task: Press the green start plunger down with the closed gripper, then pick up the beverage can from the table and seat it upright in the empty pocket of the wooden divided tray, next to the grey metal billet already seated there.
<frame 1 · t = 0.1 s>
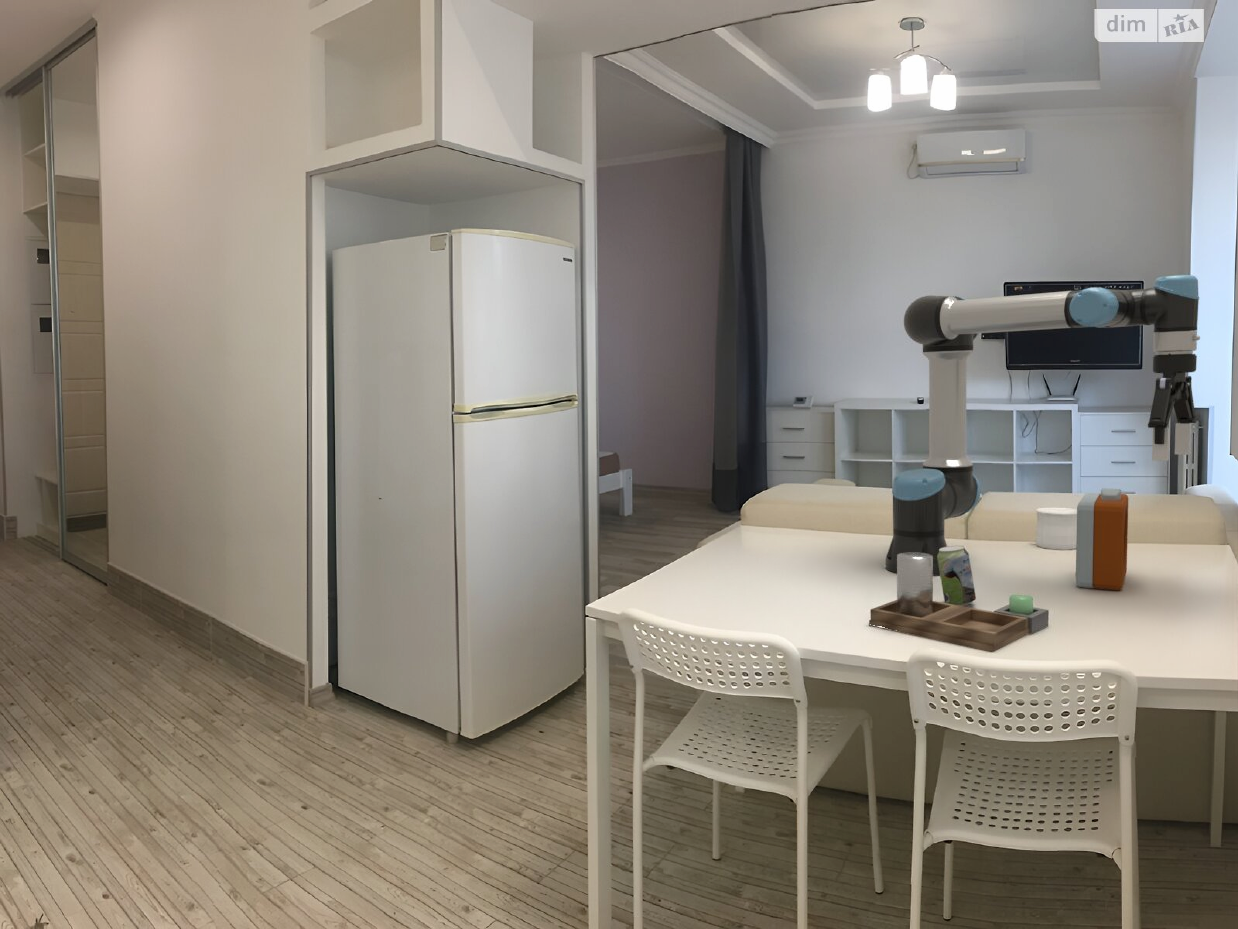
hand: (1171, 457, 184), 28 cm above the table, fingers open, 13 cm apart
wooden divided tray: (947, 629, 165), on the table
start button: (1021, 609, 165), point 3 cm above the table, slide at 0.0 cm
cup: (1057, 547, 234), on the table
seated billet: (914, 617, 170), point 1 cm above the table, touching wooden divided tray
beverage can: (956, 605, 182), on the table
button housing: (1020, 626, 166), on the table
orange and grey box: (1101, 582, 197), on the table
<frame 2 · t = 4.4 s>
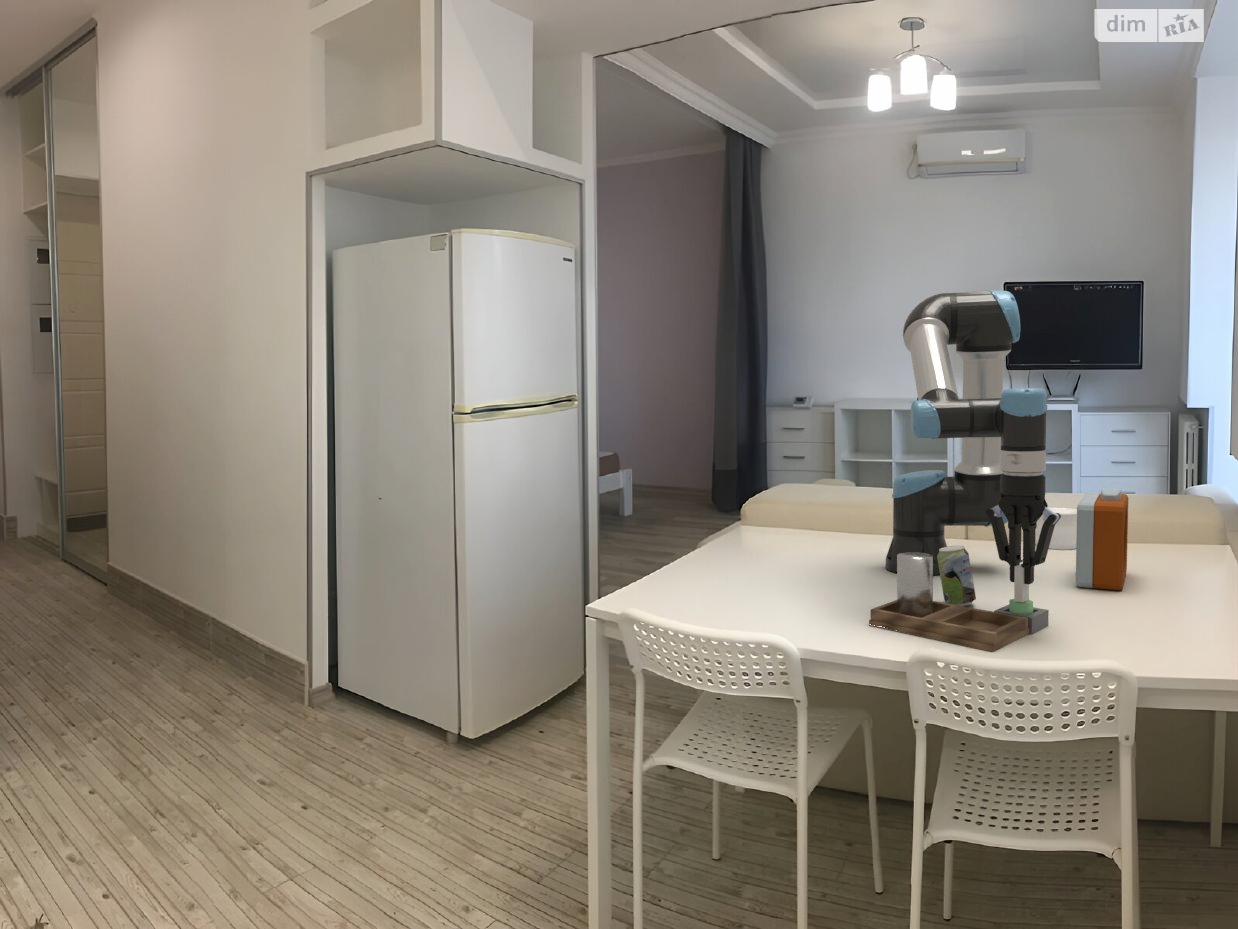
hand: (1021, 600, 165), 5 cm above the table, fingers closed
start button: (1021, 613, 165), point 2 cm above the table, slide at 0.8 cm, touching gripper
everything else where it was.
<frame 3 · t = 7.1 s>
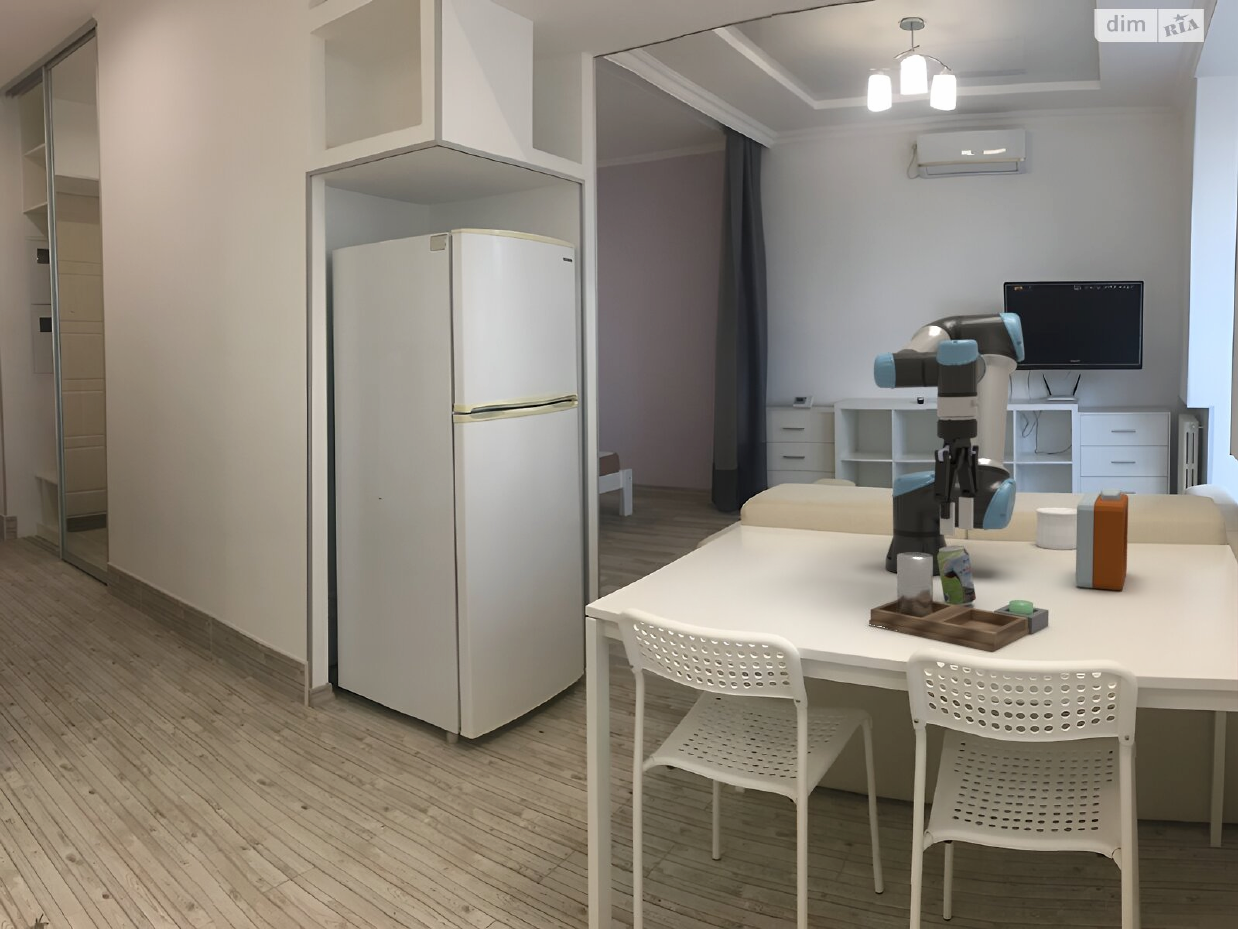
hand: (956, 531, 180), 15 cm above the table, fingers open, 7 cm apart
start button: (1021, 614, 165), point 2 cm above the table, slide at 1.1 cm
everything else where it was.
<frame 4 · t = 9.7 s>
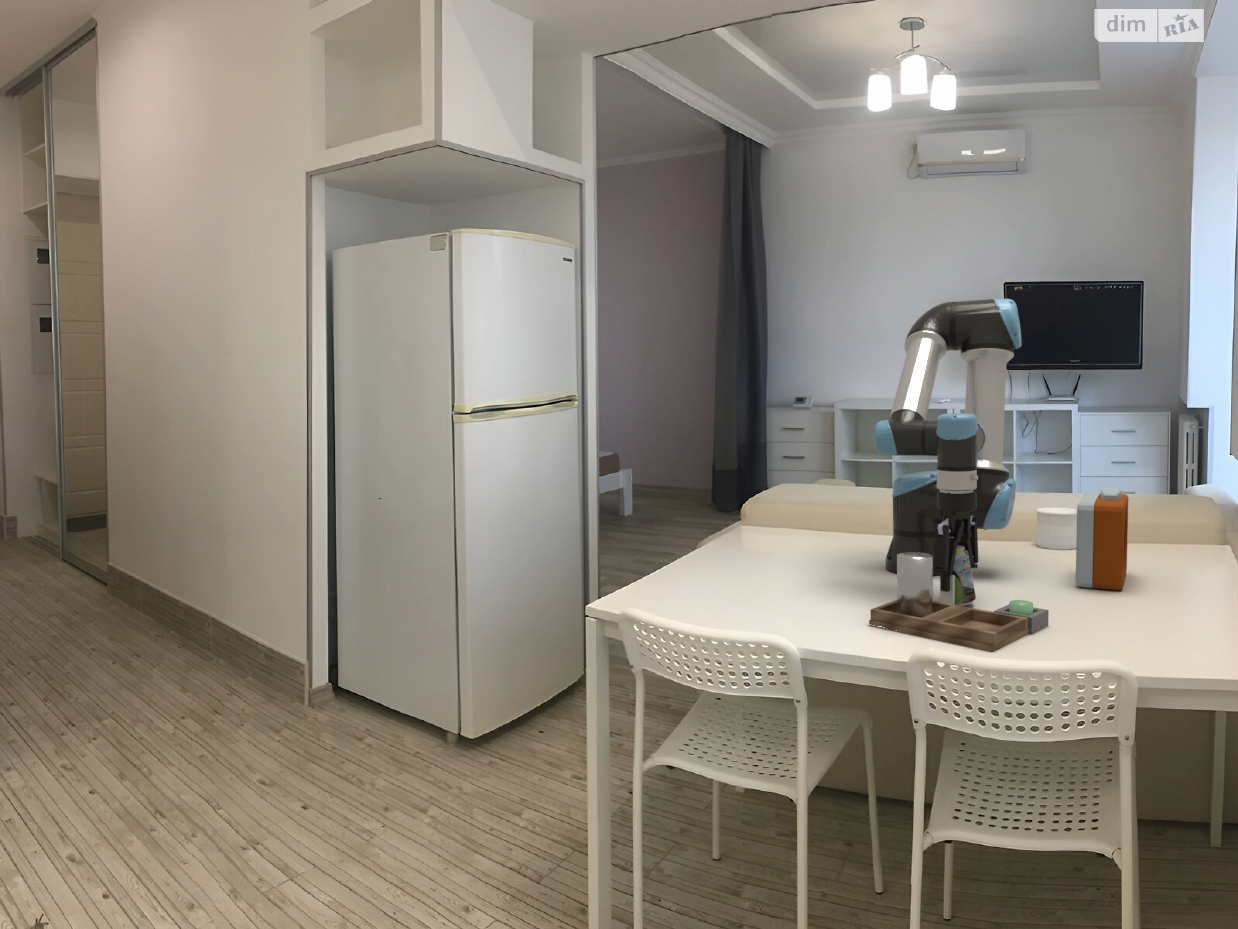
hand: (956, 602, 182), 0 cm above the table, fingers closed on beverage can, 7 cm apart
beverage can: (956, 605, 182), on the table, touching gripper
everything else where it was.
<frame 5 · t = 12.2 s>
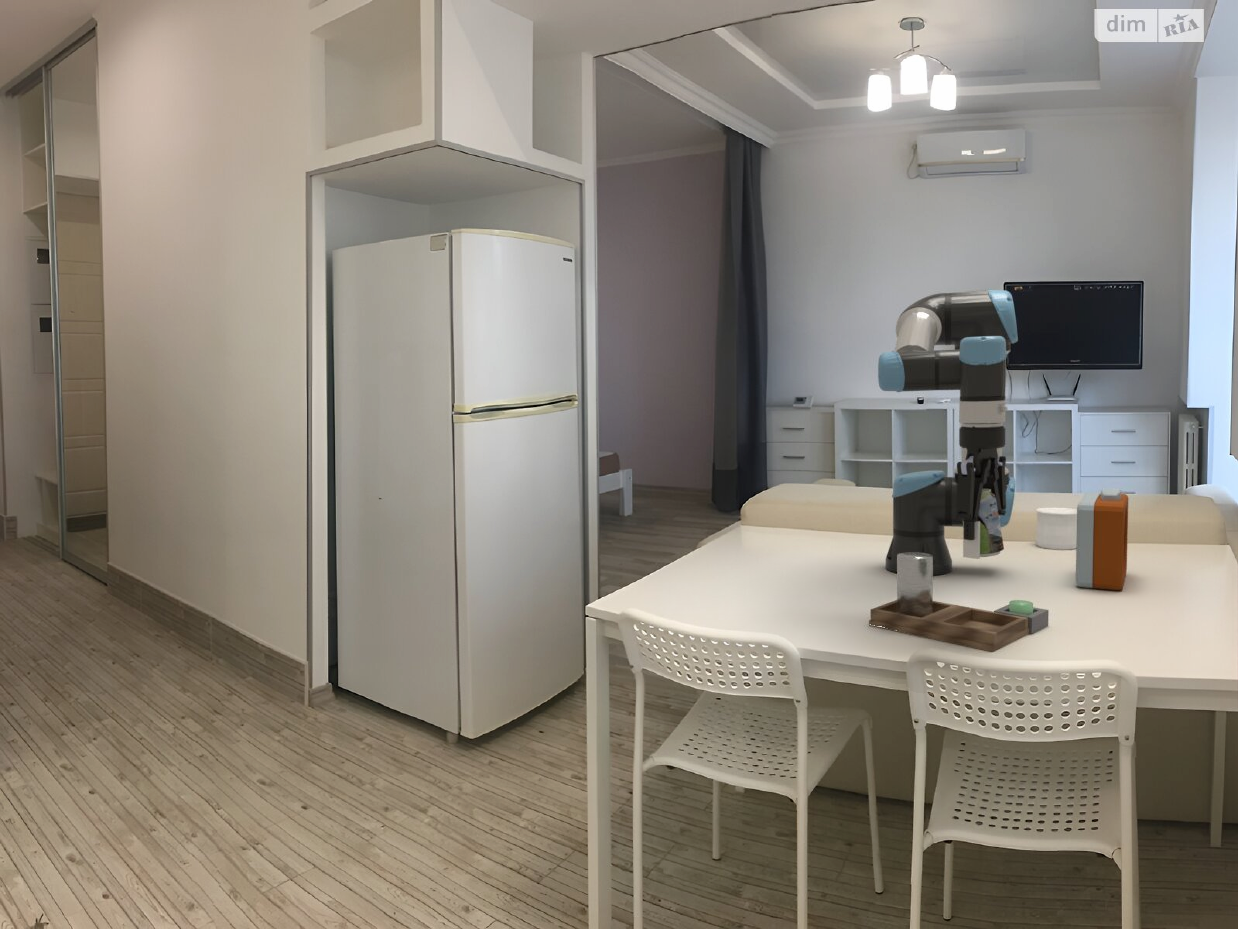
hand: (981, 554, 159), 15 cm above the table, fingers closed on beverage can, 7 cm apart
beverage can: (981, 557, 159), point 14 cm above the table, touching gripper
everything else where it was.
when the fingers open (3 cm above the table, at t = 14.7 s): beverage can drops 2 cm, resting on wooden divided tray.
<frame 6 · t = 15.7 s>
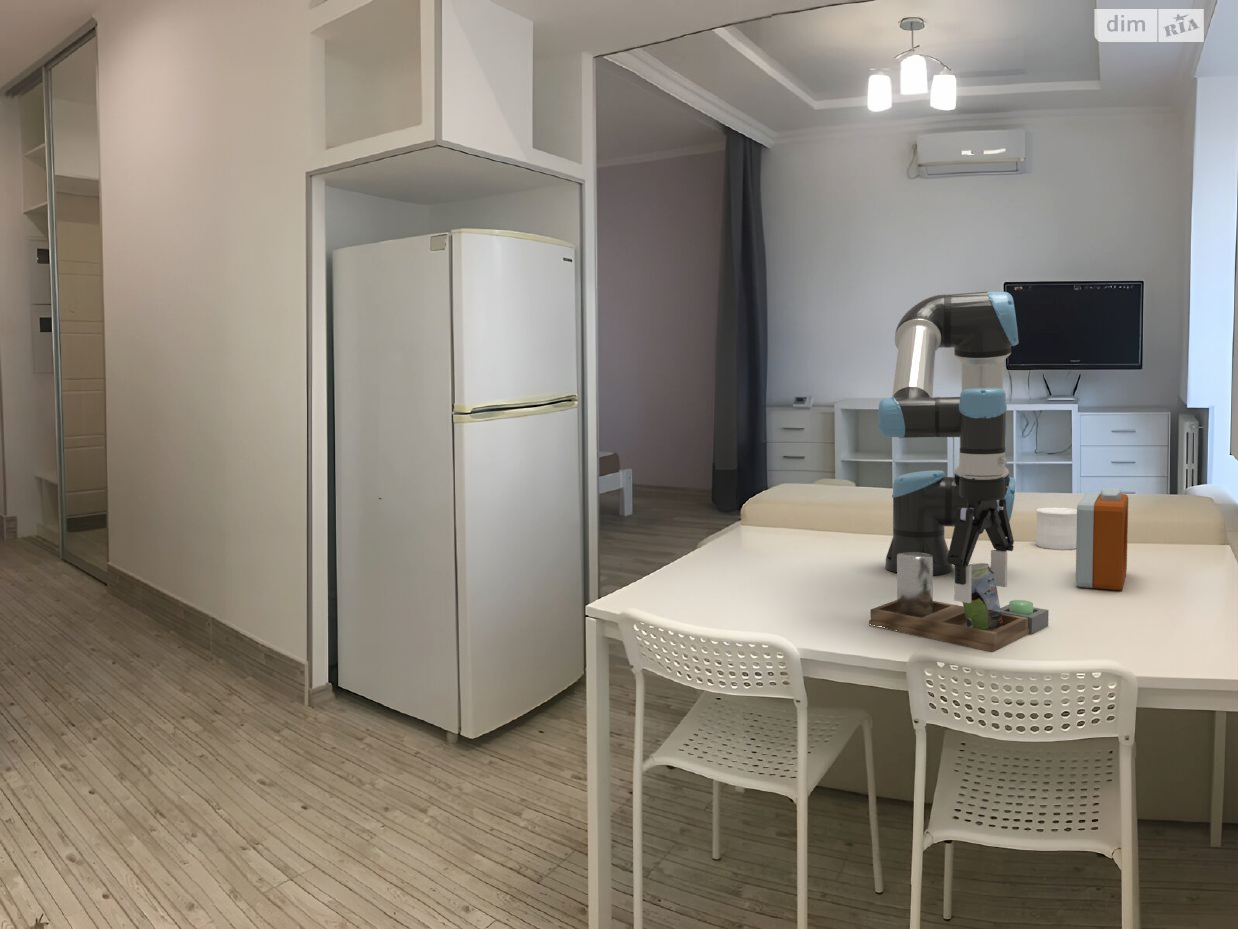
hand: (981, 593, 160), 8 cm above the table, fingers open, 13 cm apart
beverage can: (980, 631, 160), point 1 cm above the table, touching wooden divided tray
everything else where it was.
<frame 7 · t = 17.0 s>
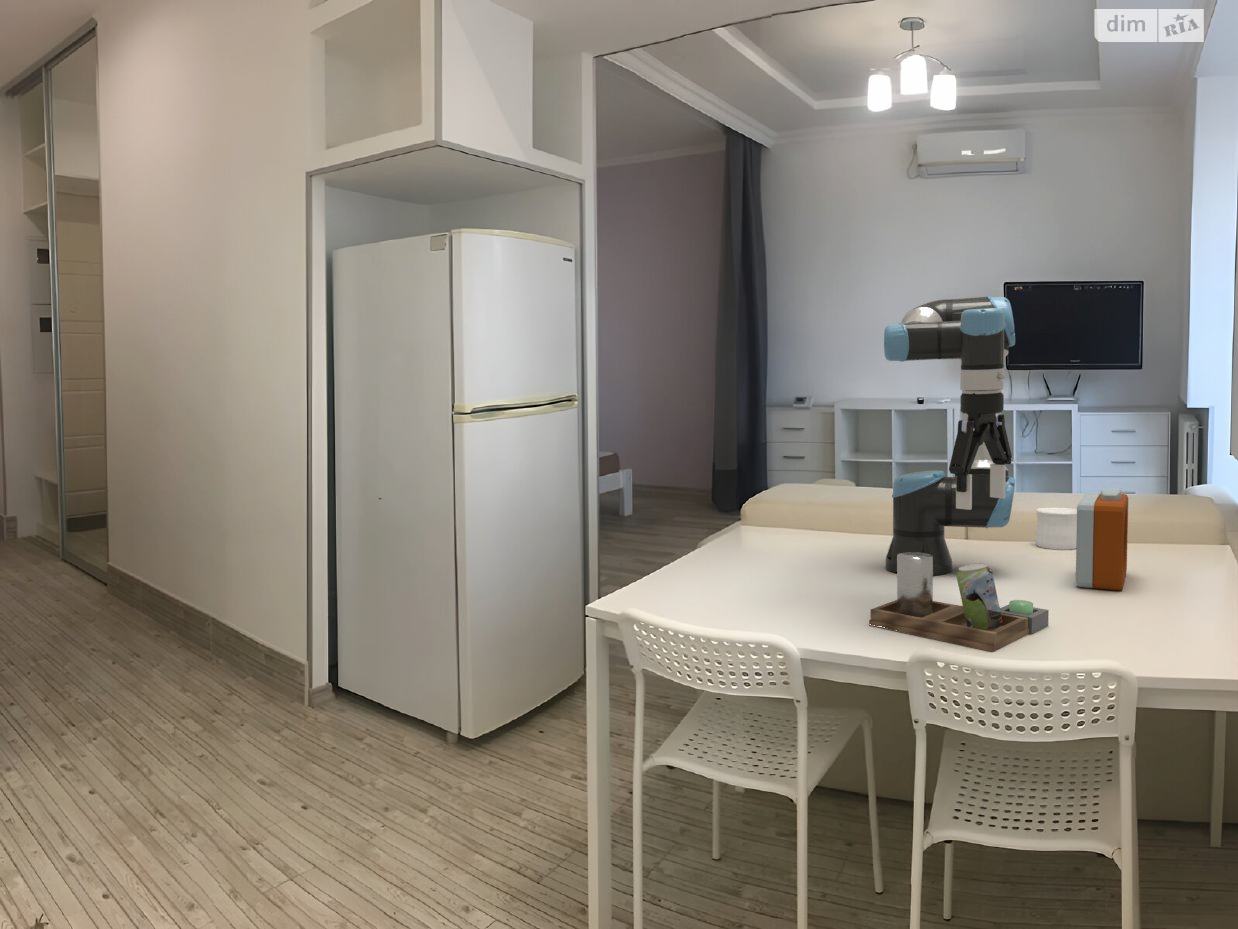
hand: (981, 503, 171), 22 cm above the table, fingers open, 13 cm apart
nothing on the table moved.
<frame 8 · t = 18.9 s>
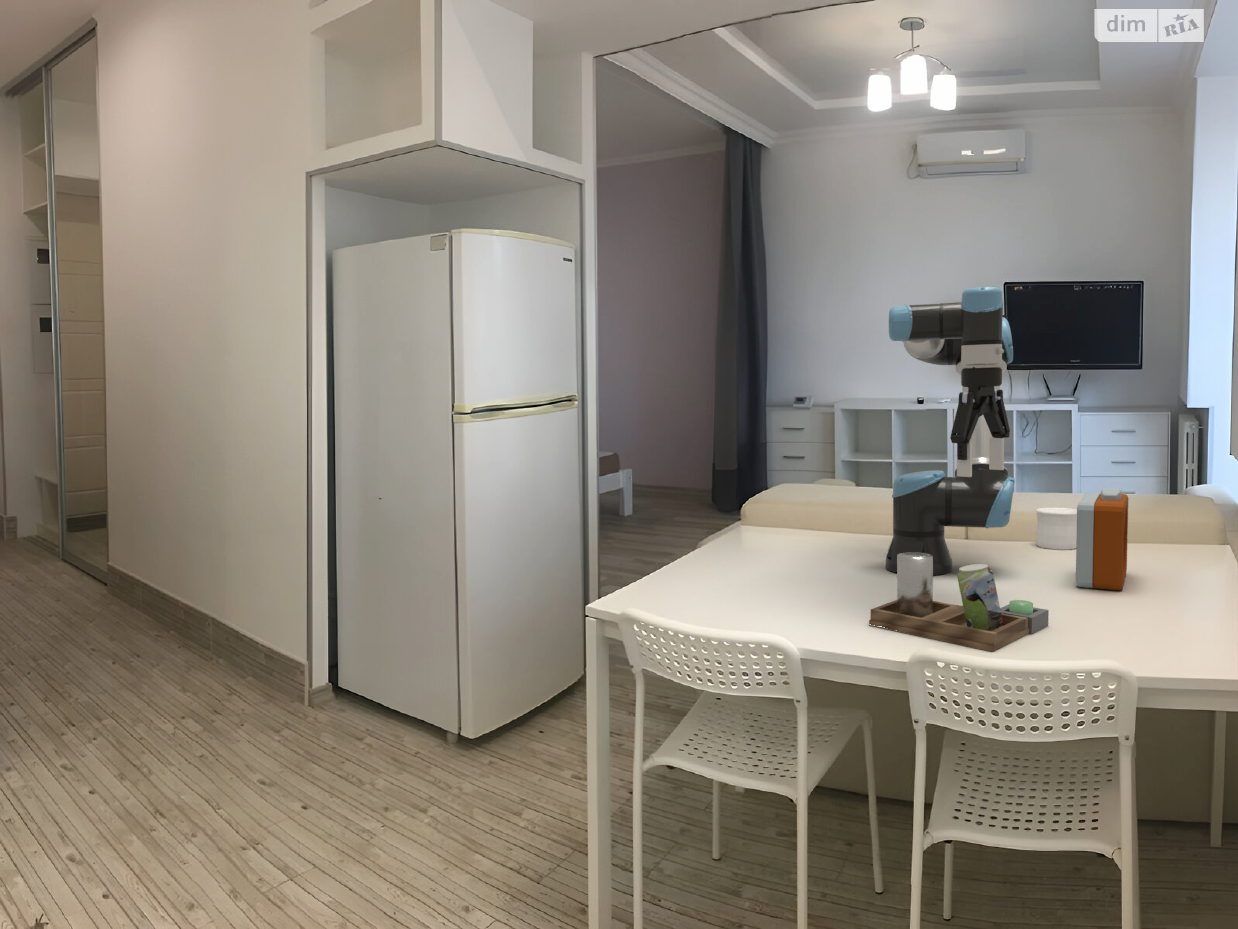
hand: (980, 473, 180), 27 cm above the table, fingers open, 13 cm apart
nothing on the table moved.
at the end: beverage can inside the target area on the wooden divided tray (0.2 cm from its centre), point 0.8 cm above the wooden divided tray's base; beverage can tilted 1°; start button slide at 1.1 cm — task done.
